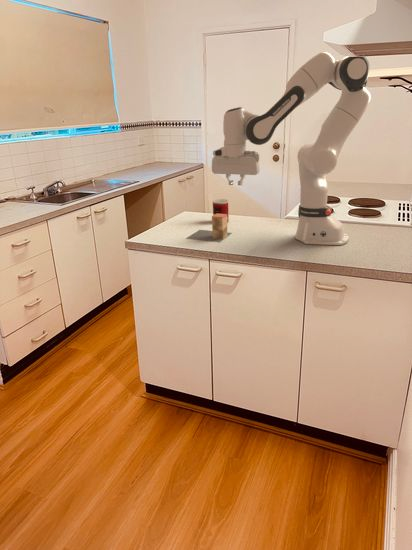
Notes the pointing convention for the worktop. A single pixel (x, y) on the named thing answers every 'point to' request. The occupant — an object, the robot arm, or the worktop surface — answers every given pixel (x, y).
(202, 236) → the slate mat
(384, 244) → the worktop surface
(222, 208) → the canned food
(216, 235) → the oak block
